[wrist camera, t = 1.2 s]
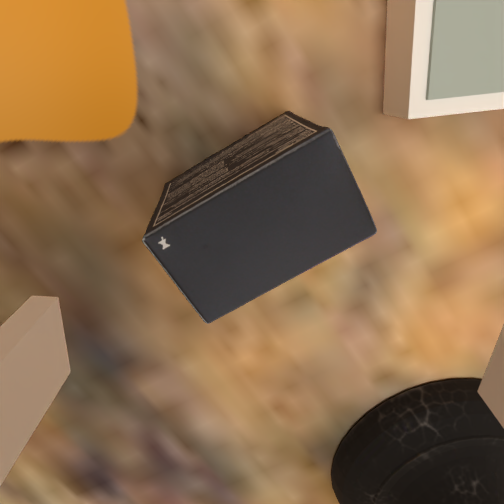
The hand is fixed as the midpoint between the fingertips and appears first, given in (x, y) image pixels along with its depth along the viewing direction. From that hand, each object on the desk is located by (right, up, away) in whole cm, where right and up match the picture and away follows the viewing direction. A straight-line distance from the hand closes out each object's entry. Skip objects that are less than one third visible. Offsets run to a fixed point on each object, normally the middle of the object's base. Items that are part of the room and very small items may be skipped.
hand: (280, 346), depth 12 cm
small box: (-1, +8, +17) cm, 19 cm away
